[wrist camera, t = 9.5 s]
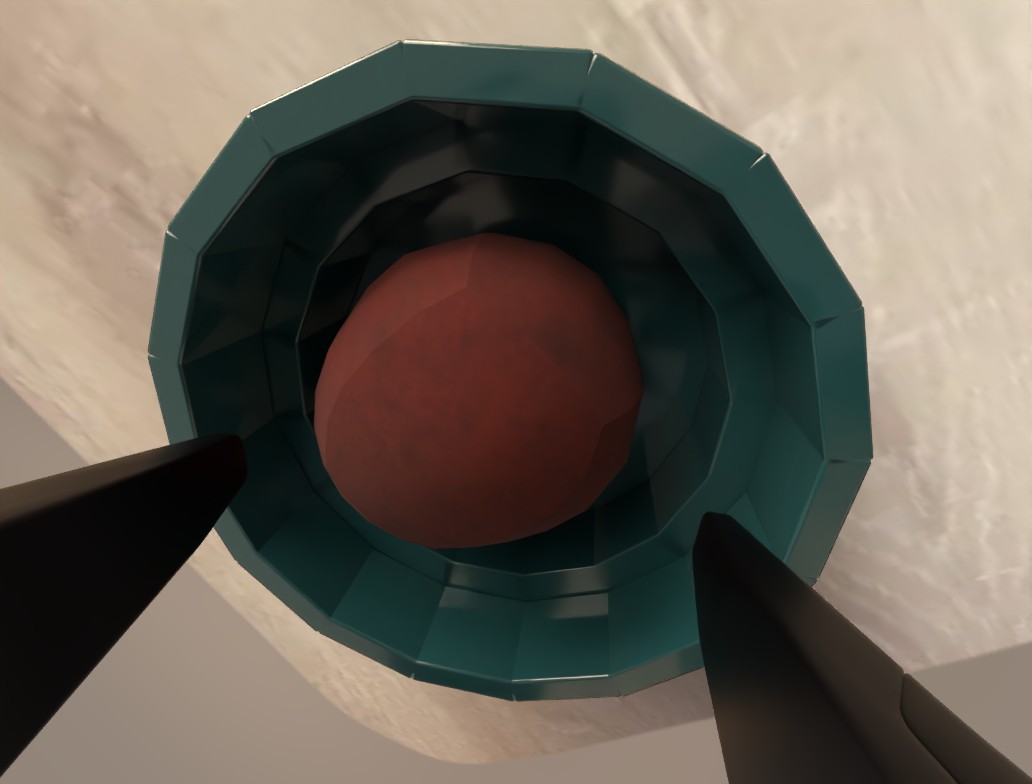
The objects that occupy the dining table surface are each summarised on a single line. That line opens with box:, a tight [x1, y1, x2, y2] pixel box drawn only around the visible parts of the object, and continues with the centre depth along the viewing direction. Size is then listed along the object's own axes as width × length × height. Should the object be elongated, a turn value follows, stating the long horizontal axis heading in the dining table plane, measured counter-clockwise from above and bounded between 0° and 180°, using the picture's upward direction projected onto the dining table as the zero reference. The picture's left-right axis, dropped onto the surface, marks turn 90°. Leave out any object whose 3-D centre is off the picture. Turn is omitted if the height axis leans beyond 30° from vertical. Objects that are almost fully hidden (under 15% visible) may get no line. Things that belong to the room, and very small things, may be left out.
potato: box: [314, 233, 643, 549], centre depth 12 cm, size 7×8×7 cm
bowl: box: [148, 39, 873, 702], centre depth 13 cm, size 15×15×6 cm
